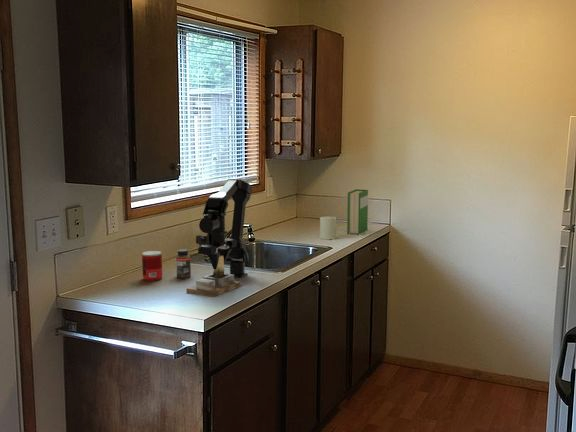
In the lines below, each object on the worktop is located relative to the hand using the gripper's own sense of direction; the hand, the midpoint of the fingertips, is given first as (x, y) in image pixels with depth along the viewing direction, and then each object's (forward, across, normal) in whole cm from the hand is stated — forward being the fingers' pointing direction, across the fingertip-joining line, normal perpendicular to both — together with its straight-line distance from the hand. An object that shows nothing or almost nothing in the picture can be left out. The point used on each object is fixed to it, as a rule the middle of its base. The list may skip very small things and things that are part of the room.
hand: (218, 268), depth 247 cm
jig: (+8, +3, 0) cm, 8 cm away
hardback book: (+8, -139, +2) cm, 140 cm away
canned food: (+8, +2, -32) cm, 33 cm away
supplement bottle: (+8, -7, -22) cm, 25 cm away
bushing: (+3, 0, 0) cm, 3 cm away
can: (+8, -114, -5) cm, 114 cm away
